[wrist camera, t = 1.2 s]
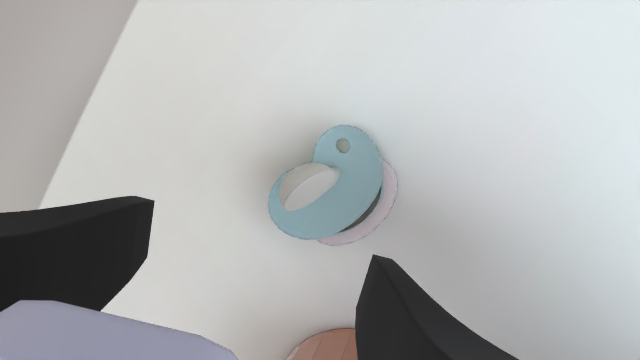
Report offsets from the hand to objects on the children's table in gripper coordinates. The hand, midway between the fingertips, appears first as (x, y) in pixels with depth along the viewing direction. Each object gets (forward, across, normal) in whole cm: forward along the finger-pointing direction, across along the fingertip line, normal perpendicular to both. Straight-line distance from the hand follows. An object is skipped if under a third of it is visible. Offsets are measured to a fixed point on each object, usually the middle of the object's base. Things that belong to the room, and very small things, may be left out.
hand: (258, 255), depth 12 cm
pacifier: (+11, -3, +1) cm, 12 cm away
